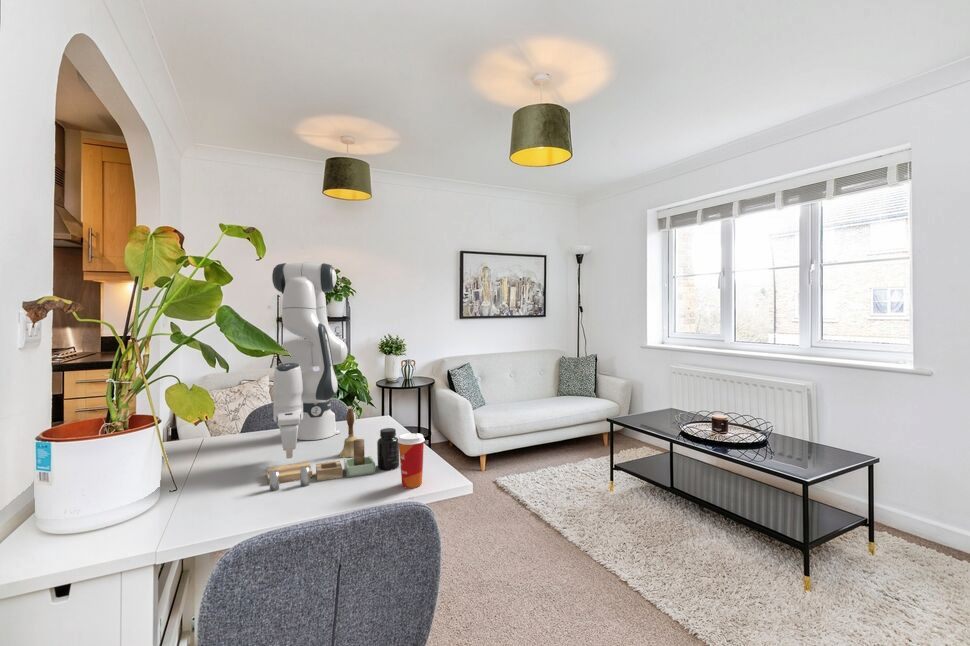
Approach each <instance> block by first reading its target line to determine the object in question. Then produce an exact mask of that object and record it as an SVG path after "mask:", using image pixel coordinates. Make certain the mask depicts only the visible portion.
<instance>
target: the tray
mask: <svg viewBox="0 0 970 646" xmlns="http://www.w3.org/2000/svg"><path fill="white" fill-rule="evenodd" d="M364 457H365V465H358V466H354V457H353V458H345V459H344V460H343V462H344V464H343V466H344V473H345V475H346V477H347V478H354V477H361V476H367V475H366V474H368V475H374V473H375V474H376V463H375V461H374V460H373V458H372V456H370V455H369V456H364Z"/></svg>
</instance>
